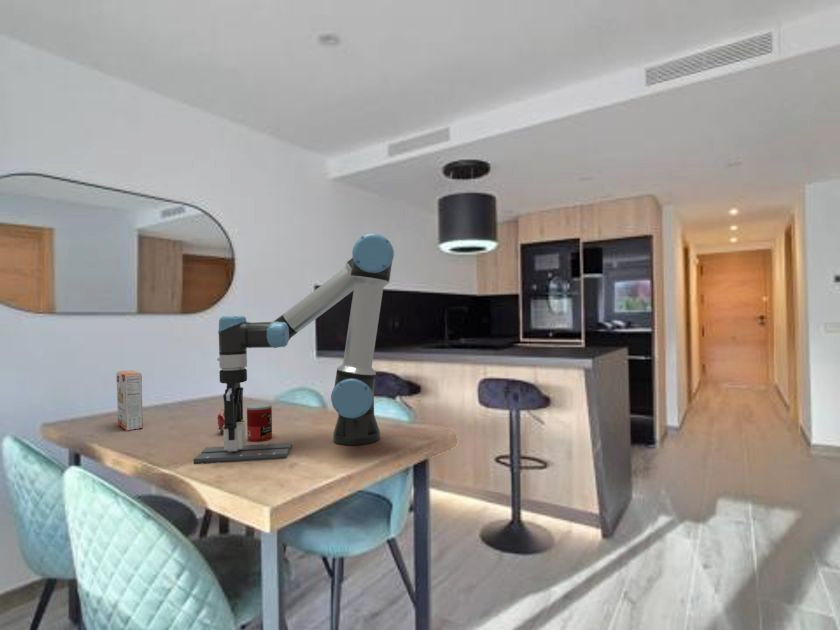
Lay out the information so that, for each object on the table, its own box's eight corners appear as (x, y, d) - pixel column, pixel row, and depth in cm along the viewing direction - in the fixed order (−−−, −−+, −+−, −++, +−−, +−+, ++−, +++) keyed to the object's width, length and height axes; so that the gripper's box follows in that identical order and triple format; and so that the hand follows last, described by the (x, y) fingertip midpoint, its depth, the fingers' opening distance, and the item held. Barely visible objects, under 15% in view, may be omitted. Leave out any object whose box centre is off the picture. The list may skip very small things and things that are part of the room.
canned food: (264, 442, 153) (264, 408, 153) (242, 441, 155) (241, 407, 155) (276, 436, 160) (276, 403, 160) (255, 435, 162) (254, 403, 162)
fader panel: (291, 447, 146) (291, 442, 146) (286, 458, 134) (286, 453, 134) (206, 451, 143) (206, 447, 143) (193, 464, 131) (193, 458, 131)
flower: (207, 432, 161) (220, 413, 161) (212, 421, 170) (224, 403, 170) (232, 445, 164) (245, 426, 164) (236, 433, 173) (248, 416, 173)
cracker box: (116, 425, 182) (115, 371, 182) (134, 423, 186) (133, 370, 186) (124, 431, 172) (123, 374, 172) (143, 428, 176) (142, 372, 176)
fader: (245, 450, 141) (244, 421, 141) (242, 454, 137) (241, 424, 137) (227, 451, 140) (227, 422, 140) (223, 455, 136) (223, 425, 136)
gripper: (227, 366, 146) (228, 441, 146) (211, 372, 129) (212, 457, 129) (252, 365, 147) (254, 440, 147) (239, 371, 130) (241, 456, 130)
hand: (234, 448), depth 138 cm, fingers closed on fader, 4 cm apart
